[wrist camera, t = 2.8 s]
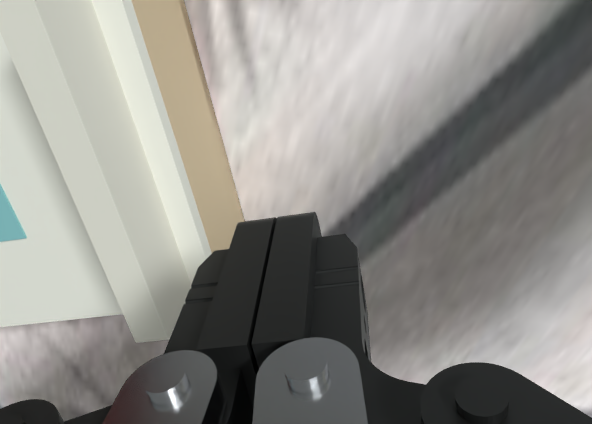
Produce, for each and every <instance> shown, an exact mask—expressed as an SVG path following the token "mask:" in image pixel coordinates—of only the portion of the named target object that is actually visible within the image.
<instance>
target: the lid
mask: <svg viewBox="0 0 592 424" xmlns="http://www.w3.org/2000/svg"><path fill="white" fill-rule="evenodd" d="M211 254H212V252H211V249H210V246H209V243H208V240H207V237H206V233H205V230H204V227H203V224H202V221H201V218H200V215H199V211H198V208H197V205H196V202H195V199H194V196H193V193H192V189H191V186H190V183H189V180H188V177H187V174H186V171H185V167H184V164H183V161H182V158H181V155H180V152H179V149H178V145H177V142H176V139H175V136H174V133H173V130H172V127H171V123H170V120H169V117H168V114H167V111H166V108H165V105H164V101H163V98H162V95H161V92H160V89H159V86H158V83H157V79H156V76H155V73H154V70H153V67H152V64H151V61H150V57H149V54H148V51H147V48H146V45H145V42H144V39H143V35H142V32H141V29H140V26H139V23H138V20H137V17H136V13H135V10H134V7H133V4H132V1H131V0H0V327H7V326H17V325H26V324H36V323H45V322H55V321H64V320H74V319H83V318H93V317H102V316H112V315H121V314H123V315H124V317H125V320H126V322H127V324H128V327H129V329H130V331H131V333H132V336H133V338H134V340H135V343H141V342H152V341H162V340H169V339H170V336H171V334H172V332H173V329H174V327H175V324H176V322H177V320H178V317H179V315H180V312H181V310H182V307H183V304H185V299H186V297H187V294H188V292H189V289H191V284H192V282H193V279H194V277H195V274H196V272H197V269H198V267H199V266H200V265H201V264H202V263H203V262H204V261H205V260H206V259H207V258H208V257H209V256H210V255H211Z"/></svg>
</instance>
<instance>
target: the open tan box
mask: <svg viewBox="0 0 592 424" xmlns="http://www.w3.org/2000/svg"><path fill="white" fill-rule="evenodd" d="M131 1H132V4H133V7H134V10H135V13H136V17H137V20H138V23H139V26H140V29H141V32H142V35H143V39H144V42H145V45H146V48H147V51H148V54H149V57H150V61H151V64H152V67H153V70H154V73H155V76H156V79H157V83H158V86H159V89H160V92H161V95H162V98H163V101H164V105H165V108H166V111H167V114H168V117H169V120H170V123H171V127H172V130H173V133H174V136H175V139H176V142H177V145H178V149H179V152H180V155H181V158H182V161H183V164H184V167H185V171H186V174H187V177H188V180H189V183H190V186H191V189H192V193H193V196H194V199H195V202H196V205H197V208H198V211H199V215H200V218H201V221H202V224H203V227H204V230H205V233H206V237H207V240H208V243H209V246H210V249H211V252H212V253H213V252H214V251H216V250H224V249H229V247H230V244H231V241H232V238H233V235H234V232H235V229H236V226H237V224H238V223H239V222H245V221H244V217H243V213H242V210H241V206H240V202H239V199H238V195H237V192H236V188H235V184H234V181H233V177H232V173H231V170H230V166H229V163H228V159H227V155H226V152H225V148H224V144H223V141H222V137H221V133H220V130H219V126H218V123H217V119H216V115H215V112H214V108H213V104H212V101H211V97H210V94H209V90H208V86H207V83H206V79H205V75H204V72H203V68H202V65H201V61H200V57H199V54H198V50H197V46H196V43H195V39H194V36H193V32H192V28H191V25H190V21H189V17H188V14H187V10H186V6H185V3H184V0H131Z"/></svg>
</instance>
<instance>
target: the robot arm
mask: <svg viewBox="0 0 592 424" xmlns="http://www.w3.org/2000/svg"><path fill="white" fill-rule="evenodd" d="M0 424H592V418H591V417H589V416H588V415H586V414H584V413H583V412H581V411H580V410H578V409H576V408H575V407H573V406H571V405H570V404H568V403H566V402H565V401H563V400H561V399H560V398H558V397H557V396H555V395H553V394H552V393H550V392H548V391H547V390H545V389H543V388H542V387H540V386H538V385H537V384H535V383H534V382H532V381H530V380H529V379H527V378H525V377H524V376H522V375H520V374H518V373H517V372H515V371H513V370H511V369H508V368H505V367H502V366H499V365H495V364H489V363H464V364H459V365H455V366H452V367H449V368H447V369H444V370H443V371H441V372H439V373H438V374H436V375H435V376H434V377H433V378H432V379H431V380H430V381H429V382H428V383H427V385H424V384H418V383H413V382H407V381H403V380H399V379H396V378H394V377H391V376H389V375H387V374H385V373H383V372H382V371H380V370H379V369H378V368H376V367H375V366H374V365H373V364H372V363H371V356H370V342H369V327H368V313H367V307H366V300H365V294H364V288H363V282H362V276H361V269H360V263H359V257H358V251H357V247H356V246H355V245H354V244H353V243H352V242H351V240H350V239H349V238H348V237H347V236H346V235H345V234H342V235H334V236H326V237H321V232H320V227H319V222H318V218H317V215H316V213H315V212H312V213H305V214H297V215H289V216H282V217H278V218H268V219H260V220H253V221H245V222H239V223H238V224H237V226H236V229H235V232H234V235H233V238H232V241H231V244H230V247H229V249H224V250H216V251H214V252H213V253H212V254H211V255H210V256H209V257H208V258H207V259H206V260H205V261H204V262H203V263H202V264H201V265H200V266H199V267H198V269H197V272H196V274H195V277H194V279H193V282H192V284H191V289H189V292H188V294H187V297H186V299H185V304H183V307H182V310H181V312H180V315H179V317H178V320H177V322H176V325H175V327H174V330H173V332H172V335H171V337H170V340H169V342H168V345H167V348H166V350H165V353H164V354H163V355H160V356H158V357H156V358H154V359H152V360H150V361H148V362H147V363H145V364H143V365H142V366H141V367H139V368H138V369H137V370H136V371H135V372H134V373H133V374H131V376H130V377H129V378H128V379H127V380H126V382H125V383H124V385H123V386H122V388H121V390H120V392H119V394H118V395H117V397H116V399H115V401H114V403H113V405H111V406H108V407H106V408H103V409H100V410H97V411H94V412H91V413H88V414H85V415H83V416H80V417H77V418H74V419H71V420H68V421H65V422H64V421H63V419H62V417H61V415H60V414H59V412H58V410H57V409H56V407H55V406H54V405H53V404H51V403H50V402H48V401H45V400H39V399H33V400H25V401H20V402H17V403H14V404H11V405H9V406H6V407H4V408H2V409H0Z"/></svg>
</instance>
